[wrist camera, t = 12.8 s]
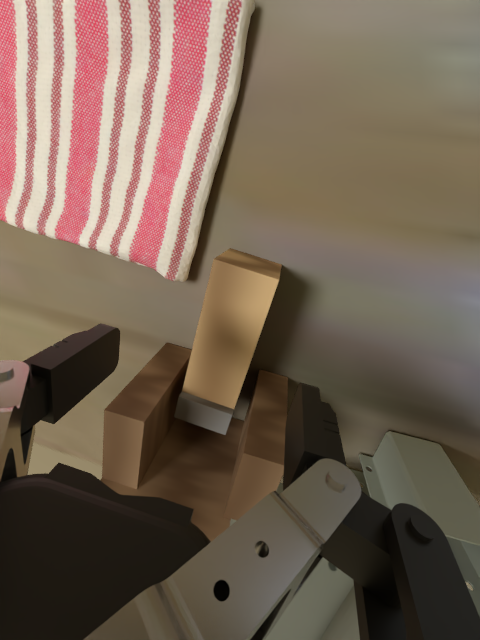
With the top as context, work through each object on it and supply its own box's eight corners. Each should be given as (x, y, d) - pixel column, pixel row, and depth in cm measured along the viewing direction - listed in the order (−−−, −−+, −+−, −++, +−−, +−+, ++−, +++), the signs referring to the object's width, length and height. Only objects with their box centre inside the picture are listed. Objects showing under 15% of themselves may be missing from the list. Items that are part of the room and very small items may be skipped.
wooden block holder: (287, 377, 24) (284, 576, 11) (263, 446, 27) (239, 662, 14) (166, 342, 25) (29, 489, 12) (157, 413, 28) (42, 590, 15)
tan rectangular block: (281, 264, 21) (278, 282, 16) (238, 389, 25) (225, 435, 20) (230, 247, 21) (211, 260, 16) (197, 375, 26) (173, 417, 20)
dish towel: (-101, -100, 17) (-193, -172, 14) (262, 7, 16) (255, -44, 13) (-61, 195, 24) (-115, 193, 20) (196, 283, 23) (180, 295, 19)
